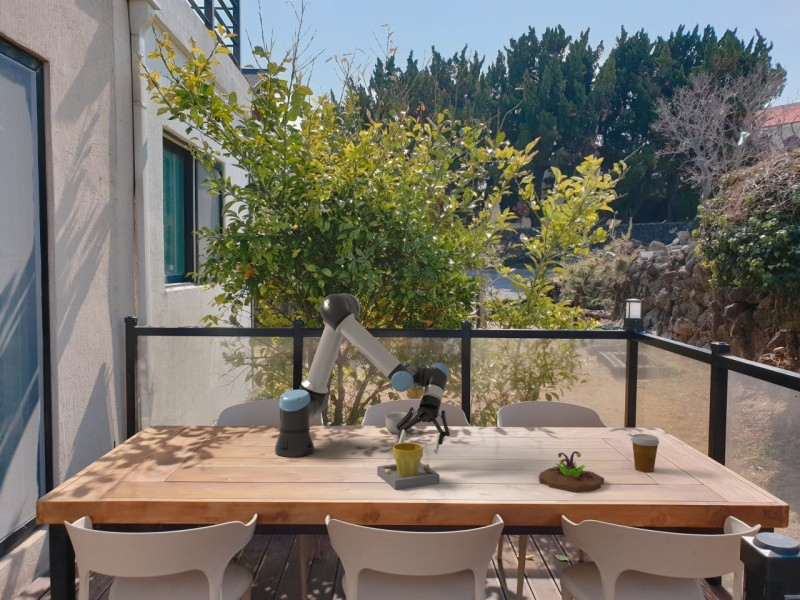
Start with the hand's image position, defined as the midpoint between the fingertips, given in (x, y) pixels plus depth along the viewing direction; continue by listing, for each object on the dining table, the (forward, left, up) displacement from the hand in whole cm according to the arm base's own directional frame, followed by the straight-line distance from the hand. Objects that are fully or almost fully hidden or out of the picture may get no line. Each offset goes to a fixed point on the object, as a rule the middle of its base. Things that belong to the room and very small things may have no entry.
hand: (417, 449), depth 218 cm
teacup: (+15, +53, -8) cm, 56 cm away
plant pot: (-7, -7, -6) cm, 12 cm away
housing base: (-7, -7, -8) cm, 12 cm away
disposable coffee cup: (+77, -30, -8) cm, 83 cm away
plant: (+44, -30, -8) cm, 54 cm away
